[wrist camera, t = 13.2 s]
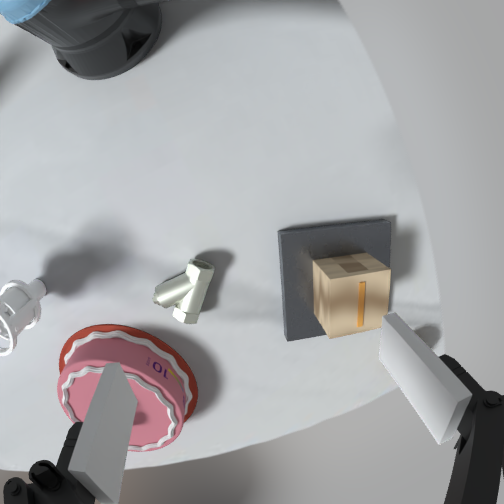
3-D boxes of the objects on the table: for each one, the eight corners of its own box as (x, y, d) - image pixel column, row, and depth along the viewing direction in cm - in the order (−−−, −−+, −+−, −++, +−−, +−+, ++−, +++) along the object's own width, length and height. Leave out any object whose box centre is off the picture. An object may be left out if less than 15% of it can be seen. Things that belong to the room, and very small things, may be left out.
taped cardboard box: (364, 303, 45) (386, 327, 38) (313, 313, 44) (330, 339, 37) (366, 252, 42) (391, 269, 35) (312, 260, 42) (330, 280, 35)
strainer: (46, 261, 39) (-10, 304, 25) (63, 304, 42) (18, 358, 27) (15, 272, 39) (-40, 314, 25) (32, 312, 41) (-15, 362, 27)
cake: (217, 422, 51) (219, 467, 41) (102, 436, 51) (90, 475, 40) (165, 307, 44) (153, 348, 34) (36, 337, 43) (8, 372, 33)
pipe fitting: (154, 299, 44) (198, 314, 44) (147, 311, 40) (195, 327, 41) (168, 248, 42) (215, 264, 43) (161, 256, 38) (213, 273, 39)
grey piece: (277, 231, 42) (290, 246, 35) (384, 219, 43) (412, 231, 36) (284, 334, 47) (296, 364, 40) (379, 316, 48) (402, 340, 41)
